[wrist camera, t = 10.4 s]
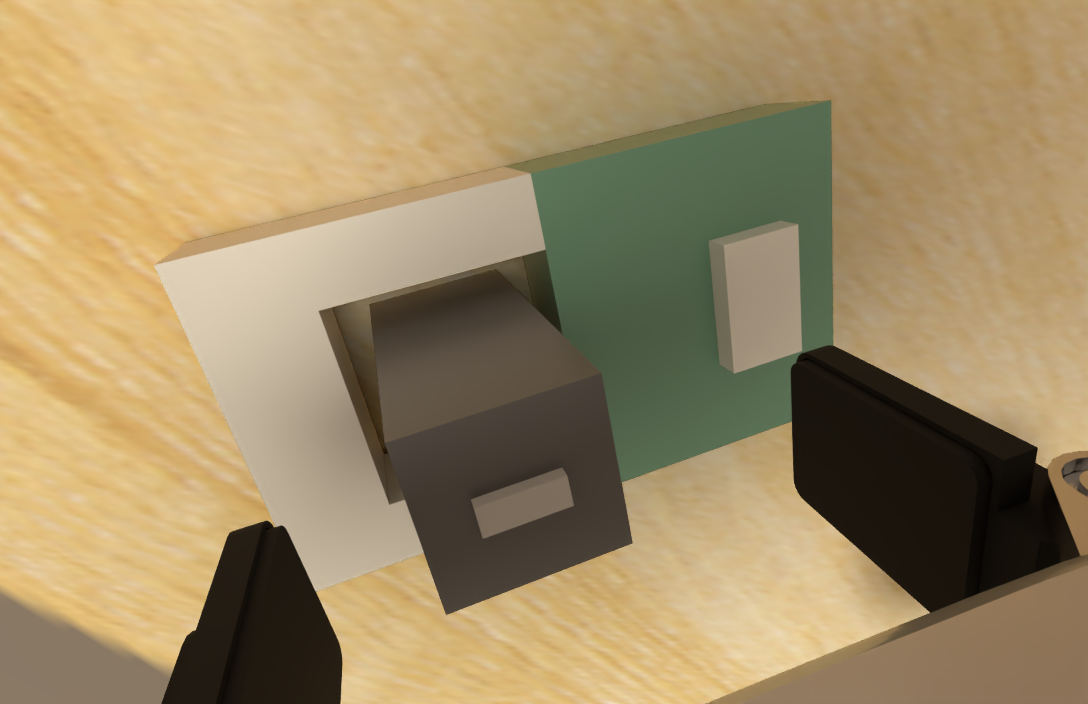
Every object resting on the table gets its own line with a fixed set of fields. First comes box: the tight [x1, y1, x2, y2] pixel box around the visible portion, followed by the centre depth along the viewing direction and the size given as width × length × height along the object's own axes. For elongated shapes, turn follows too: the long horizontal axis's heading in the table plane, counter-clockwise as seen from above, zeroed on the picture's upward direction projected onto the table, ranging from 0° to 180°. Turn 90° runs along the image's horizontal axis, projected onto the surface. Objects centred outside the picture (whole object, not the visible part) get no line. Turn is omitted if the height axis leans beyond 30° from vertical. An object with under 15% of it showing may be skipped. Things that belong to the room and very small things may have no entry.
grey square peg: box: [370, 269, 632, 615], centre depth 15 cm, size 4×4×9 cm
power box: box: [154, 100, 833, 592], centre depth 18 cm, size 18×10×4 cm, turn 102°
